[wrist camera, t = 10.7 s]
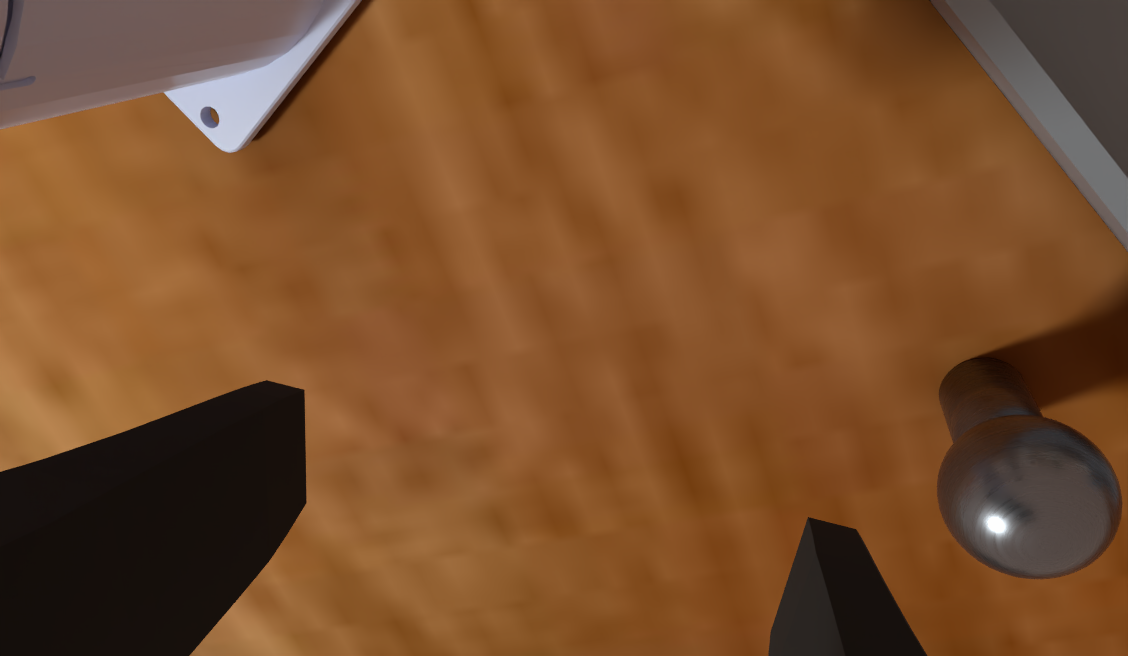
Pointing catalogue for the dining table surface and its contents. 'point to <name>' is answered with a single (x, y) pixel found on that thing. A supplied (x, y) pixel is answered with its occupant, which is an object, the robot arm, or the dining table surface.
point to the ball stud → (1021, 478)
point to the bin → (1061, 84)
